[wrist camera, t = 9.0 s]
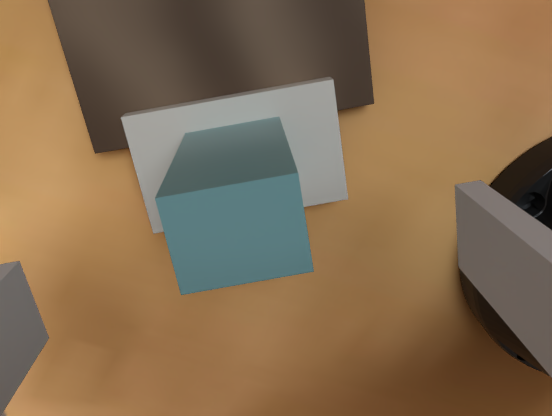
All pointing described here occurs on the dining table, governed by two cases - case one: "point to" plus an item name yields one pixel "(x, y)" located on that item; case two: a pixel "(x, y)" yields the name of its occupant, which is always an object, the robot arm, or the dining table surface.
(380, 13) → the dining table surface
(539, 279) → the robot arm
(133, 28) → the board
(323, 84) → the teal cube on panel
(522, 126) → the dining table surface
